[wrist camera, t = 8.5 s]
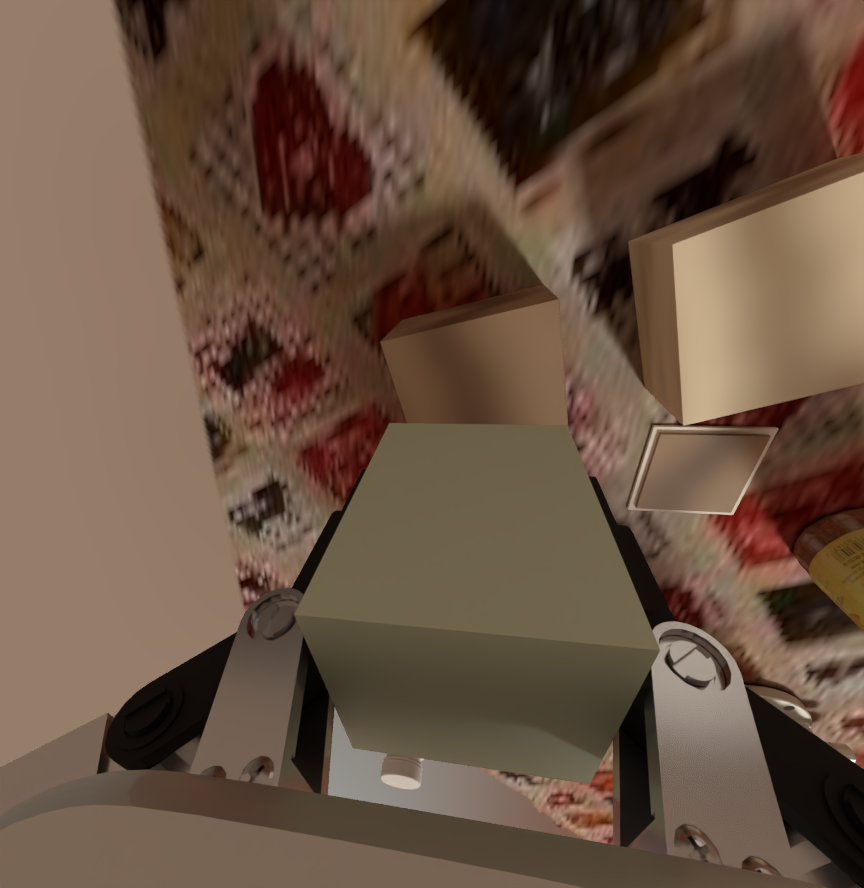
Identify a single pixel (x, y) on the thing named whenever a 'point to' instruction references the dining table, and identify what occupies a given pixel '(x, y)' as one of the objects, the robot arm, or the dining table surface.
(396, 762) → the pill bottle
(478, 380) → the tan square block
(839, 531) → the sauce bottle
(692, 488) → the swatch
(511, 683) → the sage block
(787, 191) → the beech block
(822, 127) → the dining table surface
